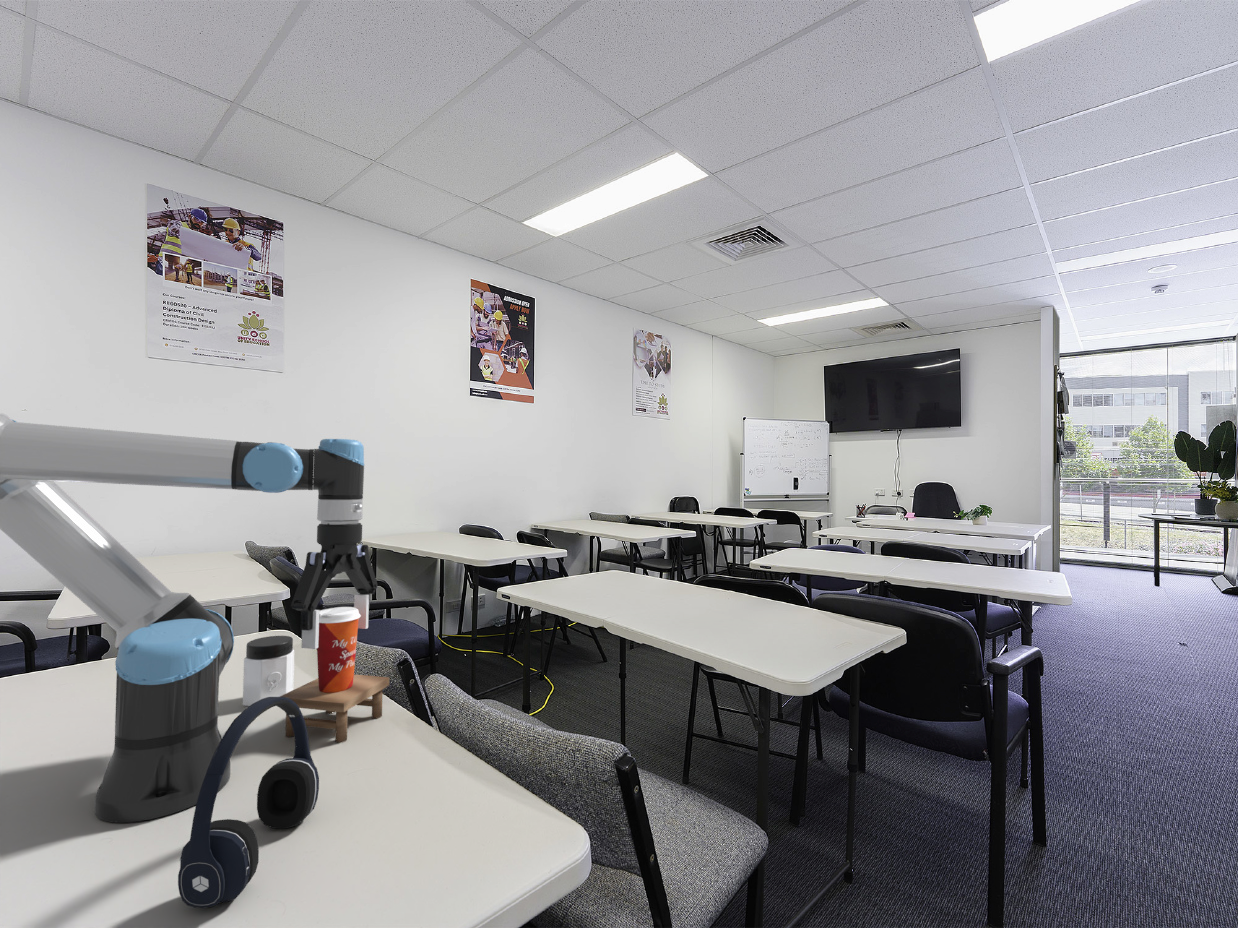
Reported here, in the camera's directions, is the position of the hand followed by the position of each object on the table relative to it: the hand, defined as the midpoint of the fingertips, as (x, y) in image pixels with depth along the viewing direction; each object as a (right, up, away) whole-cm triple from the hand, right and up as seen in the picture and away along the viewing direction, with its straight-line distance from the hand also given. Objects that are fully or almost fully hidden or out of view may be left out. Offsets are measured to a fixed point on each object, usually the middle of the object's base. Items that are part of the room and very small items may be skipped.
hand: (336, 637), depth 104 cm
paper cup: (0, -9, 0) cm, 9 cm away
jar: (-20, -16, +11) cm, 28 cm away
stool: (0, -16, 0) cm, 16 cm away
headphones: (+9, -15, -36) cm, 41 cm away
